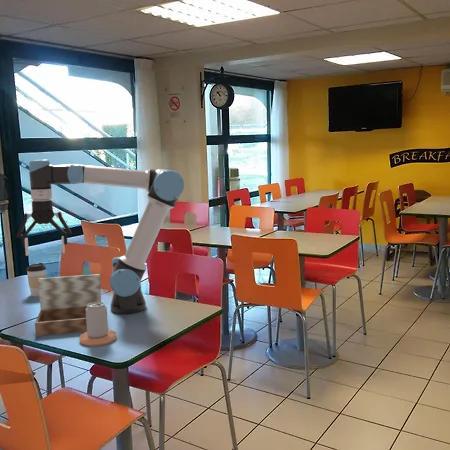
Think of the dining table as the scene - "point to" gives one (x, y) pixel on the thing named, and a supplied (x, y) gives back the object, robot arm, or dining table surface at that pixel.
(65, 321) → the hinged wooden box
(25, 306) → the dining table surface
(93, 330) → the can
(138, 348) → the dining table surface
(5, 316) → the dining table surface
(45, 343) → the dining table surface
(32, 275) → the coffee cup
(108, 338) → the brown wooden disc
